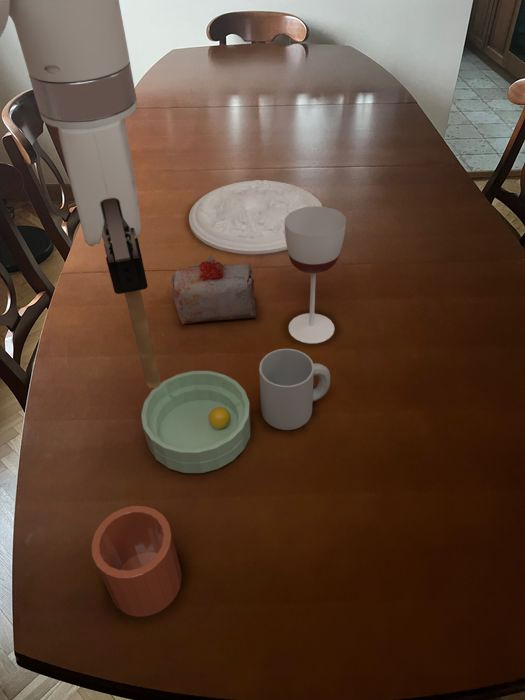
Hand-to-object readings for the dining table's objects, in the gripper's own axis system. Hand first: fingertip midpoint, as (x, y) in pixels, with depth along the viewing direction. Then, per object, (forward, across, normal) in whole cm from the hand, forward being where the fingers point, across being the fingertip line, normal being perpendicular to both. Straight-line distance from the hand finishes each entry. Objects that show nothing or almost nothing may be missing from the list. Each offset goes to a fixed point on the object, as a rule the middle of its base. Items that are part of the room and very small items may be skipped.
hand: (129, 282), depth 58 cm
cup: (+30, -4, +18) cm, 35 cm away
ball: (+27, -4, +8) cm, 28 cm away
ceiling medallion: (+30, -57, +27) cm, 69 cm away
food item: (+30, -29, +12) cm, 43 cm away
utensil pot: (+29, +16, -5) cm, 34 cm away
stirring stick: (+15, 0, 0) cm, 15 cm away
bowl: (+29, -4, +4) cm, 30 cm away
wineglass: (+30, -20, +26) cm, 44 cm away
